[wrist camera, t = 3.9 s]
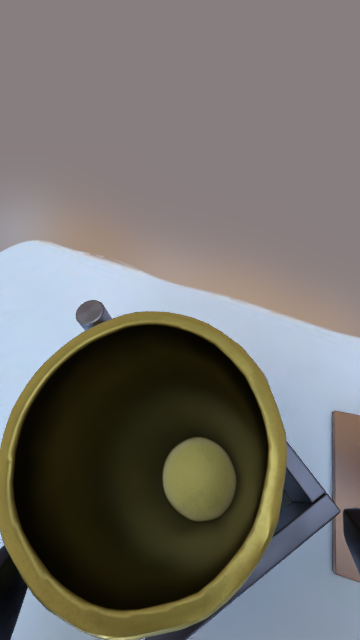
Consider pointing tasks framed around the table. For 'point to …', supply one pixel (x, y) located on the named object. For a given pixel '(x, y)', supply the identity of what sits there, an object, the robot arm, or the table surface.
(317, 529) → the holder
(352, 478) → the cork pad
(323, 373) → the table surface
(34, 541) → the vase
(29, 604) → the table surface
